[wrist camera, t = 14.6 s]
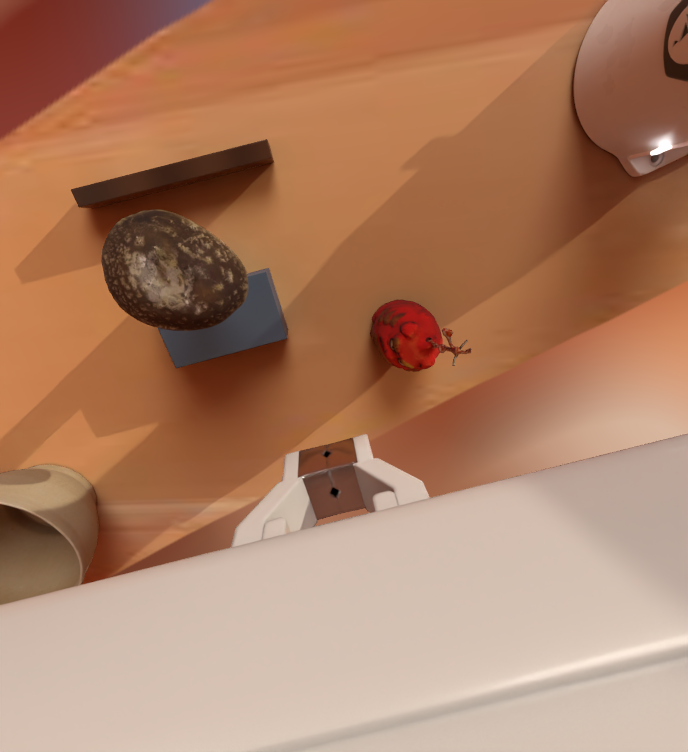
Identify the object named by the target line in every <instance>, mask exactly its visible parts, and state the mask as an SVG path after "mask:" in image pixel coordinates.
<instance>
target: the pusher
mask: <svg viewBox="0 0 688 752" xmlns="http://www.w3.org/2000/svg"><path fill="white" fill-rule="evenodd" d="M247 278H248V294H247V297H246V300H245V302H244V303H243V304H242V305H241V306H240V307H239V308H238V309H237V310H236V311H235V312H234V313H233V314H232V315H230V316H229V317H228V318H227V319H226V320H225V321H223V322H222V323H220V324H217V325H215V326H213V327H209V328H206V329H200V330H192V331H173V330H166V329H162V328H158V330H159V332H160V334H161V336H162V339H163V341H164V343H165V345H166V347H167V350H168V352H169V354H170V356H171V358H172V361H173V363H174V365H175V367H176V368H179V367H183V366H187V365H190V364H194V363H198V362H202V361H205V360H209V359H213V358H216V357H220V356H224V355H228V354H231V353H235V352H239V351H243V350H246V349H250V348H254V347H257V346H261V345H265V344H269V343H272V342H276V341H280V340H284V339H287V335H288V328H287V325H286V321H285V318H284V315H283V312H282V309H281V305H280V302H279V299H278V296H277V293H276V290H275V286H274V283H273V280H272V277H271V274H270V270H269V268H267V269H263V270H259V271H256V272H252V273H248V274H247Z"/></svg>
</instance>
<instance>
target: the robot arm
mask: <svg viewBox="0 0 688 752" xmlns="http://www.w3.org/2000/svg"><path fill="white" fill-rule="evenodd" d="M574 101H575V107H576V111H577V115H578V118H579V120H580V123H581V125H582V127H583V129H584V131H585V132H586V134H587V135H588V136H589V138H590V139H591V140H592V141H593V142H594V143H595V144H596V145H598V146H599V147H601V148H602V149H604V150H606V151H608V152H610V153H612V154H613V155H615V156H616V157H617V158H618V159H619V161H620V163H621V164H622V166H623V167H624V169H625V170H626V172H627V173H628V174H629V175H630V176H632V177H638V176H642V175H645V174H648V173H650V172H652V171H654V170H656V169H658V168H660V167H662V166H665V165H667V164H669V163H671V162H673V161H675V160H677V159H679V158H681V157H683V156H685V155H688V0H608V1H607V2H606V3H605V4H604V6H603V7H602V8H601V9H600V11H599V12H598V14H597V15H596V17H595V18H594V20H593V21H592V23H591V25H590V27H589V29H588V31H587V33H586V35H585V37H584V40H583V42H582V45H581V48H580V51H579V54H578V58H577V62H576V67H575V74H574ZM651 156H653V159H652V161H651ZM363 508H366V510H367V511H369V512H370V513H367V514H363V515H359V516H355V517H351V518H347V519H344V520H339V521H335V522H331V523H327V524H323V525H319V526H315V525H316V523H317V520H319V519H323V518H326V517H330V516H333V515H337V514H341V513H345V512H349V511H354V510H359V509H363ZM314 526H315V527H314ZM0 752H688V434H684V435H680V436H676V437H673V438H668V439H665V440H660V441H656V442H652V443H648V444H644V445H640V446H636V447H632V448H628V449H624V450H620V451H616V452H612V453H608V454H604V455H600V456H596V457H592V458H588V459H584V460H580V461H576V462H572V463H568V464H564V465H560V466H556V467H552V468H548V469H544V470H540V471H536V472H532V473H528V474H524V475H520V476H516V477H512V478H508V479H504V480H499V481H496V482H492V483H488V484H484V485H480V486H476V487H471V488H467V489H463V490H460V491H456V492H452V493H447V494H444V495H439V496H436V497H432V498H430V497H429V495H428V493H427V491H426V488H425V486H424V484H423V482H422V481H421V480H419V479H417V478H415V477H413V476H411V475H409V474H407V473H405V472H403V471H402V470H399V469H398V468H396V467H394V466H392V465H390V464H388V463H386V462H384V461H382V460H380V459H379V458H374V459H373V455H372V451H371V448H370V443H369V440H368V436H367V434H364V435H360V436H357V437H354V438H350V439H346V440H343V441H339V442H336V443H332V444H328V445H323V446H319V447H314V448H310V449H306V450H301V451H297V452H293V453H289V454H286V455H285V459H284V468H283V477H282V482H279V483H277V484H276V486H275V487H274V488H273V489H272V490H271V491H270V492H269V493H268V494H267V495H266V496H265V497H264V498H263V499H262V500H261V501H260V503H259V504H258V505H257V506H256V507H255V508H254V509H253V510H252V511H251V512H250V513H249V514H248V516H246V517H245V519H244V520H243V521H242V522H241V523H240V524H239V525H238V526H237V527H236V529H235V533H234V537H233V541H232V545H231V548H227V549H223V550H219V551H215V552H211V553H207V554H203V555H199V556H195V557H191V558H187V559H183V560H179V561H175V562H171V563H167V564H163V565H159V566H155V567H151V568H147V569H143V570H139V571H135V572H131V573H127V574H123V575H119V576H115V577H111V578H107V579H103V580H99V581H95V582H91V583H86V584H82V585H78V586H74V587H70V588H66V589H62V590H58V591H54V592H50V593H46V594H42V595H38V596H34V597H30V598H26V599H22V600H18V601H14V602H10V603H6V604H2V605H0Z"/></svg>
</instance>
